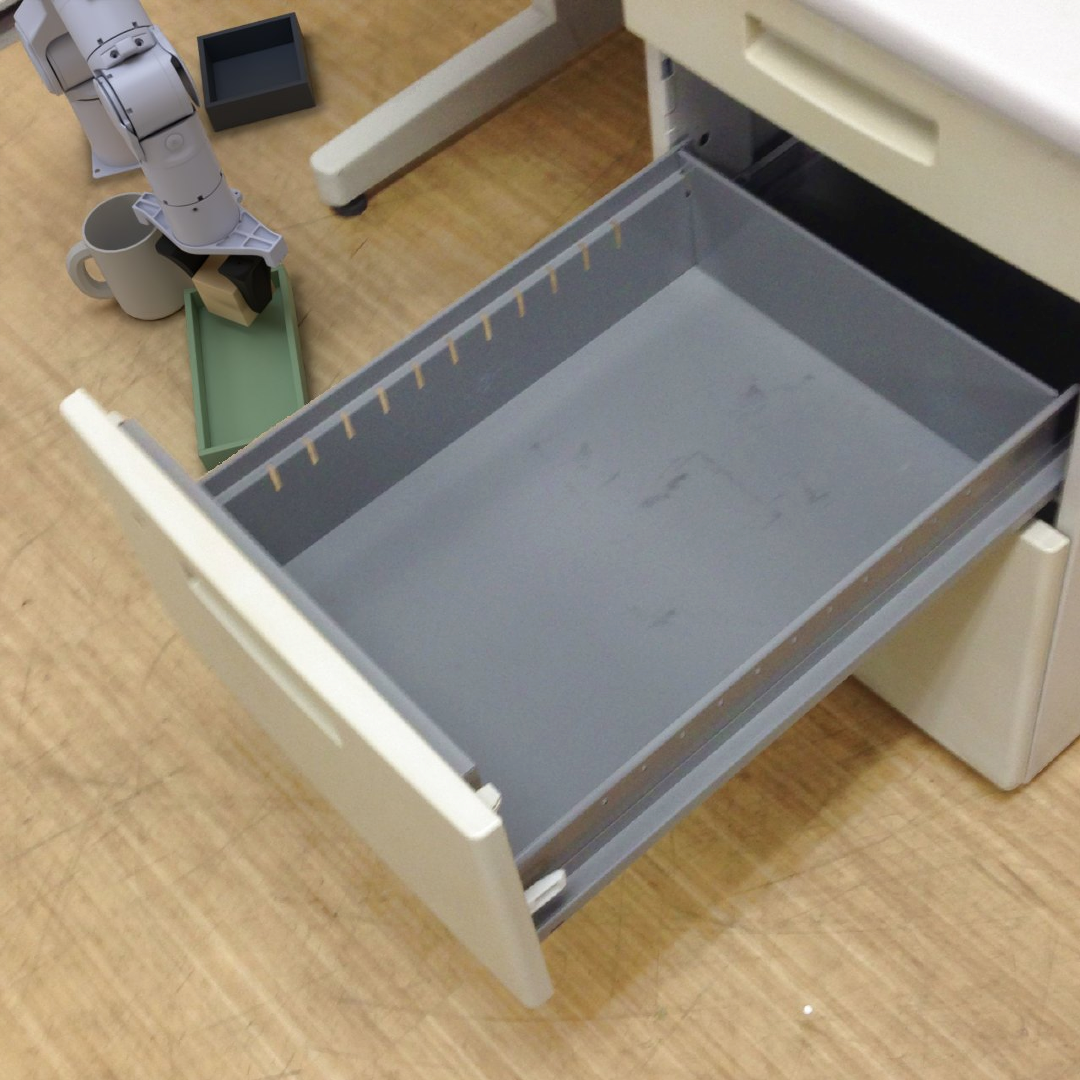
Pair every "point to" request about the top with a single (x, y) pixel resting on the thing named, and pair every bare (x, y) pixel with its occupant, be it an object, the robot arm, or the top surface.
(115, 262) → the cup
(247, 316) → the block
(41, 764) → the top surface
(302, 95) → the dark grey open box
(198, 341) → the tray
